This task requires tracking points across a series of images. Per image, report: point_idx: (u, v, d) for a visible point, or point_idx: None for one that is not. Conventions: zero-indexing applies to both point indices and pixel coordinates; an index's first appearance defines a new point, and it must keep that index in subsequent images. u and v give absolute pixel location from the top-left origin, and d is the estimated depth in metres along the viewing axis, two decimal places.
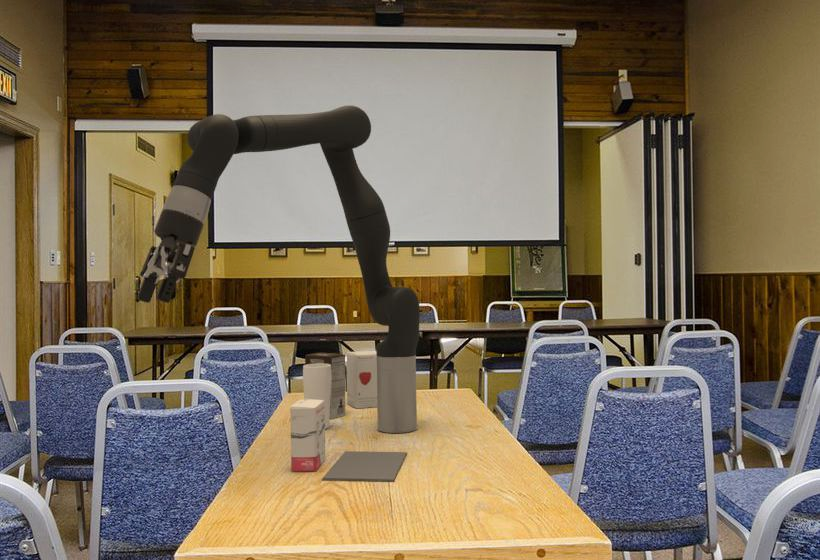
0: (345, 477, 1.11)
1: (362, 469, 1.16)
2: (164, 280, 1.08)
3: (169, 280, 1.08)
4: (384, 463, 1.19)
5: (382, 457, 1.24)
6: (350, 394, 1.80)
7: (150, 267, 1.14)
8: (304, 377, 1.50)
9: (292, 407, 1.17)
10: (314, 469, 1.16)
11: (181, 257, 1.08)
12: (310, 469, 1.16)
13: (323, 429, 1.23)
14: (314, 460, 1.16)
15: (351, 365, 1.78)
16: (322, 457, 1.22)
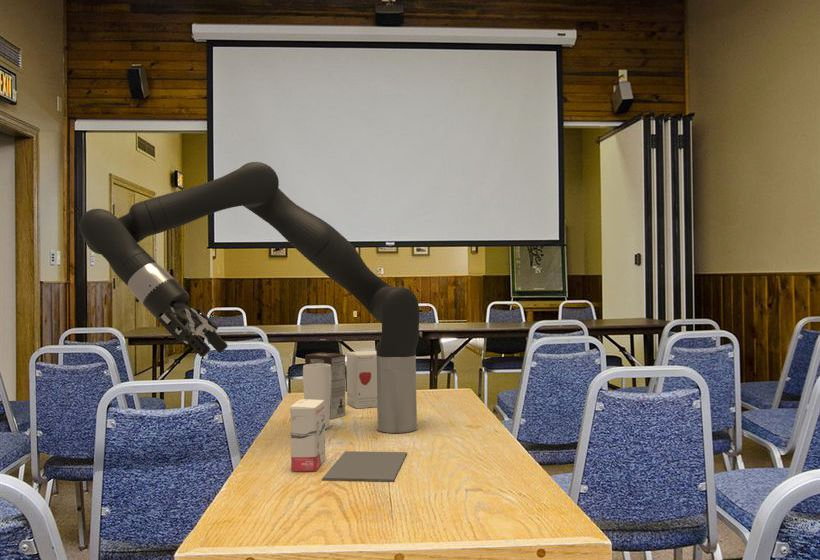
0: (345, 477, 1.11)
1: (362, 469, 1.16)
2: (190, 344, 1.19)
3: (189, 342, 1.18)
4: (384, 463, 1.19)
5: (382, 457, 1.24)
6: (350, 394, 1.80)
7: (196, 333, 1.26)
8: (304, 377, 1.50)
9: (292, 407, 1.17)
10: (314, 469, 1.16)
11: (169, 327, 1.16)
12: (310, 469, 1.16)
13: (323, 429, 1.23)
14: (314, 460, 1.16)
15: (351, 365, 1.78)
16: (322, 457, 1.22)
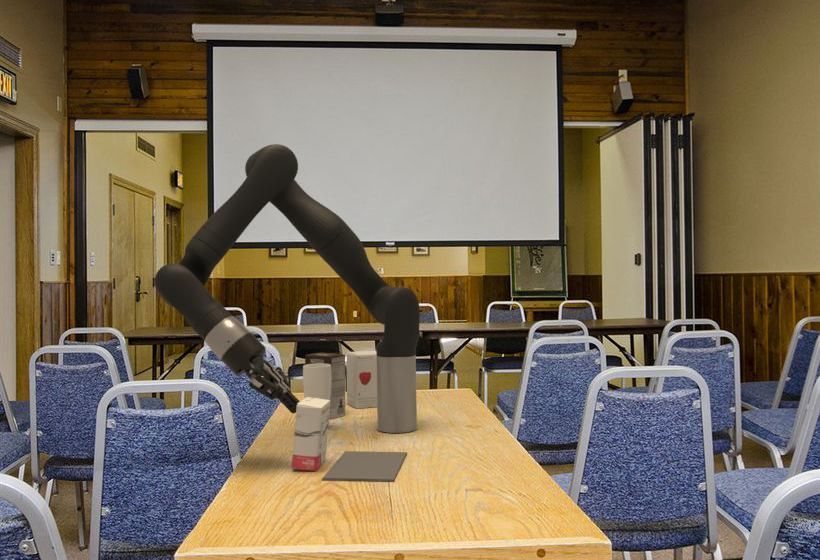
0: (345, 477, 1.11)
1: (362, 469, 1.16)
2: None
3: (281, 399, 1.20)
4: (384, 463, 1.19)
5: (382, 457, 1.24)
6: (350, 394, 1.80)
7: None
8: (304, 377, 1.50)
9: (298, 405, 1.17)
10: (314, 469, 1.16)
11: (263, 390, 1.17)
12: (310, 468, 1.16)
13: (326, 429, 1.22)
14: (315, 460, 1.16)
15: (351, 365, 1.78)
16: (323, 457, 1.21)
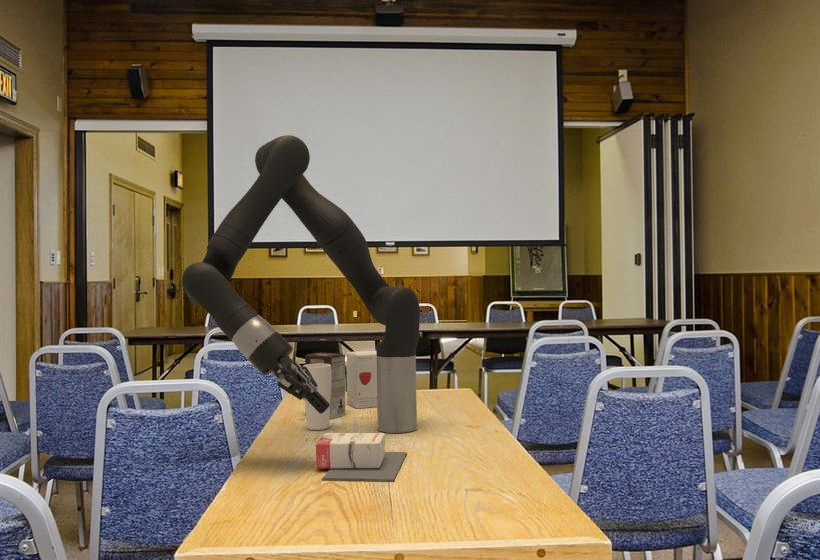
0: (345, 477, 1.11)
1: (362, 469, 1.16)
2: (308, 401, 1.20)
3: (308, 399, 1.19)
4: (384, 463, 1.19)
5: None
6: (350, 394, 1.80)
7: None
8: None
9: (379, 445, 1.15)
10: (318, 467, 1.16)
11: (291, 390, 1.16)
12: (317, 463, 1.16)
13: None
14: (326, 467, 1.16)
15: (351, 365, 1.78)
16: None
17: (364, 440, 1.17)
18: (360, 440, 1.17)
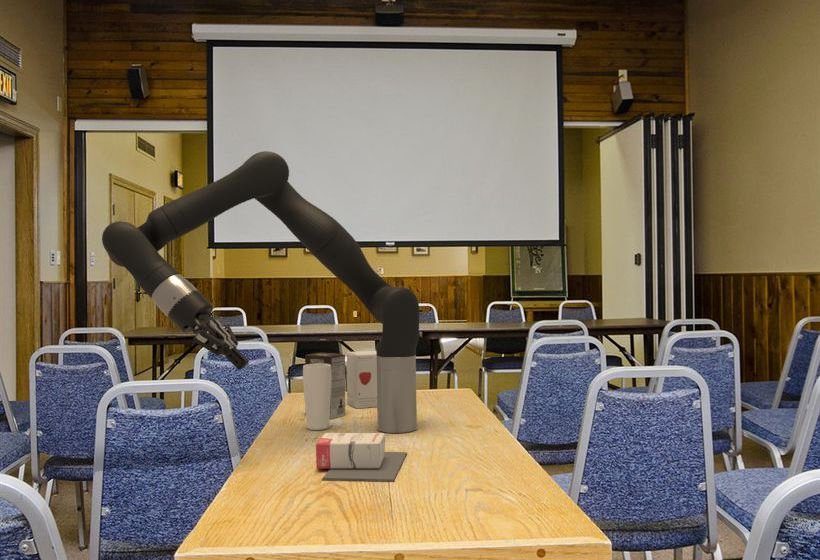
0: (345, 477, 1.11)
1: (362, 469, 1.16)
2: None
3: (227, 355, 1.21)
4: (384, 463, 1.19)
5: None
6: (350, 394, 1.80)
7: None
8: (304, 377, 1.50)
9: (379, 445, 1.15)
10: (318, 467, 1.16)
11: (208, 345, 1.18)
12: (318, 463, 1.16)
13: None
14: (326, 467, 1.16)
15: (351, 365, 1.78)
16: None
17: (364, 440, 1.17)
18: (360, 440, 1.17)
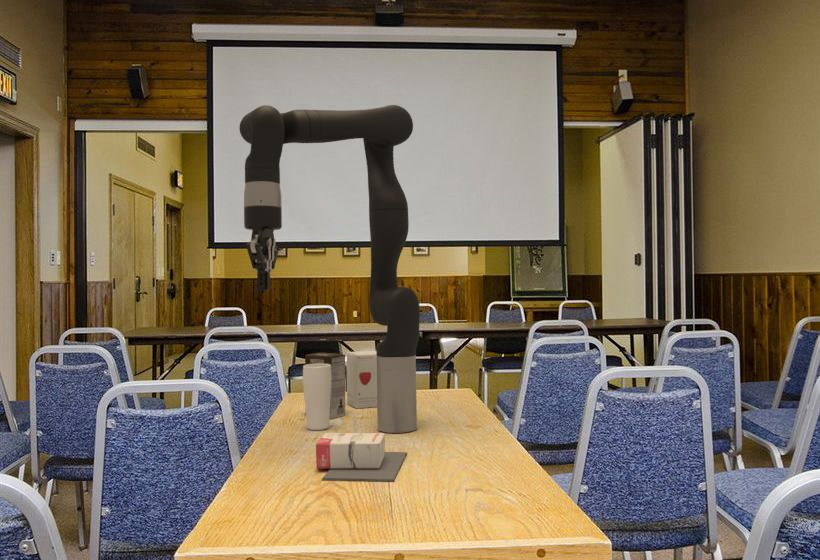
0: (345, 477, 1.11)
1: (362, 469, 1.16)
2: (258, 273, 1.30)
3: (259, 272, 1.30)
4: (384, 463, 1.19)
5: None
6: (350, 394, 1.80)
7: None
8: (304, 377, 1.50)
9: (379, 445, 1.15)
10: (318, 467, 1.16)
11: (252, 256, 1.26)
12: (318, 463, 1.16)
13: None
14: (326, 467, 1.16)
15: (351, 365, 1.78)
16: None
17: (364, 440, 1.17)
18: (360, 440, 1.17)
